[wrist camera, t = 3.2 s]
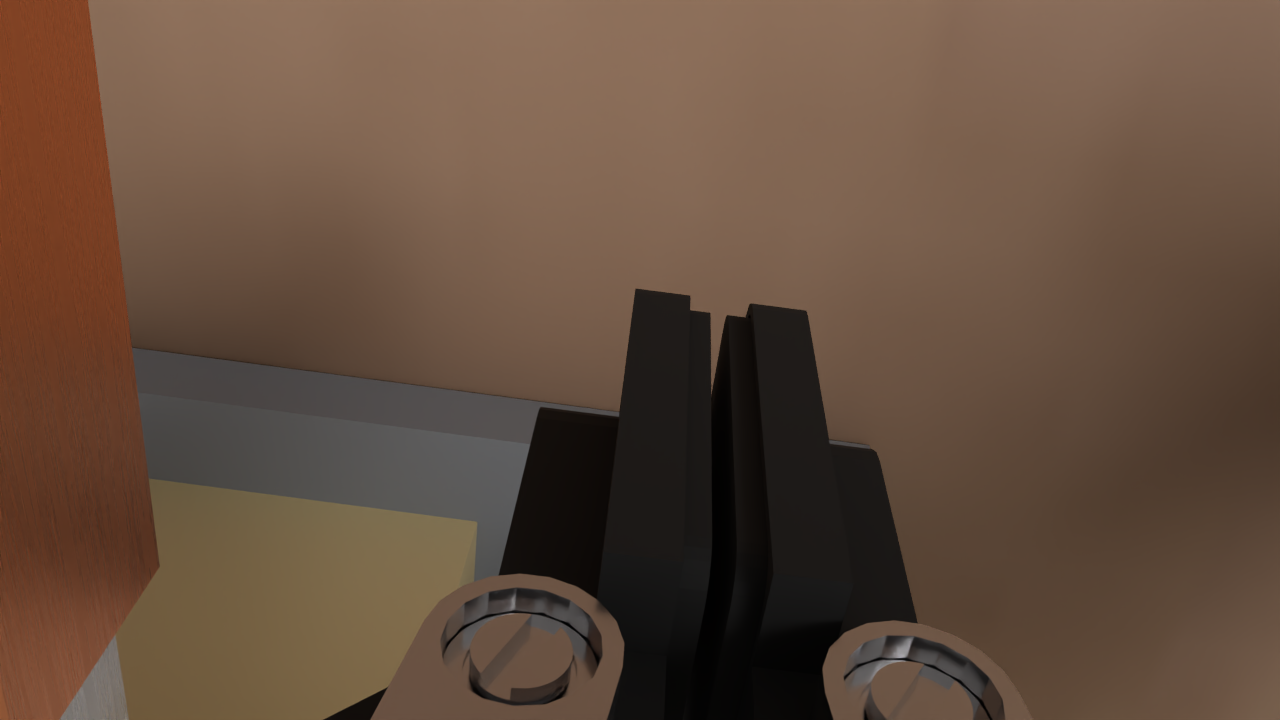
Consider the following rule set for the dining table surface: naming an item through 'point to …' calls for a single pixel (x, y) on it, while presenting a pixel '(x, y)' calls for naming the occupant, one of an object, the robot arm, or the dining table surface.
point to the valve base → (340, 436)
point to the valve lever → (63, 383)
